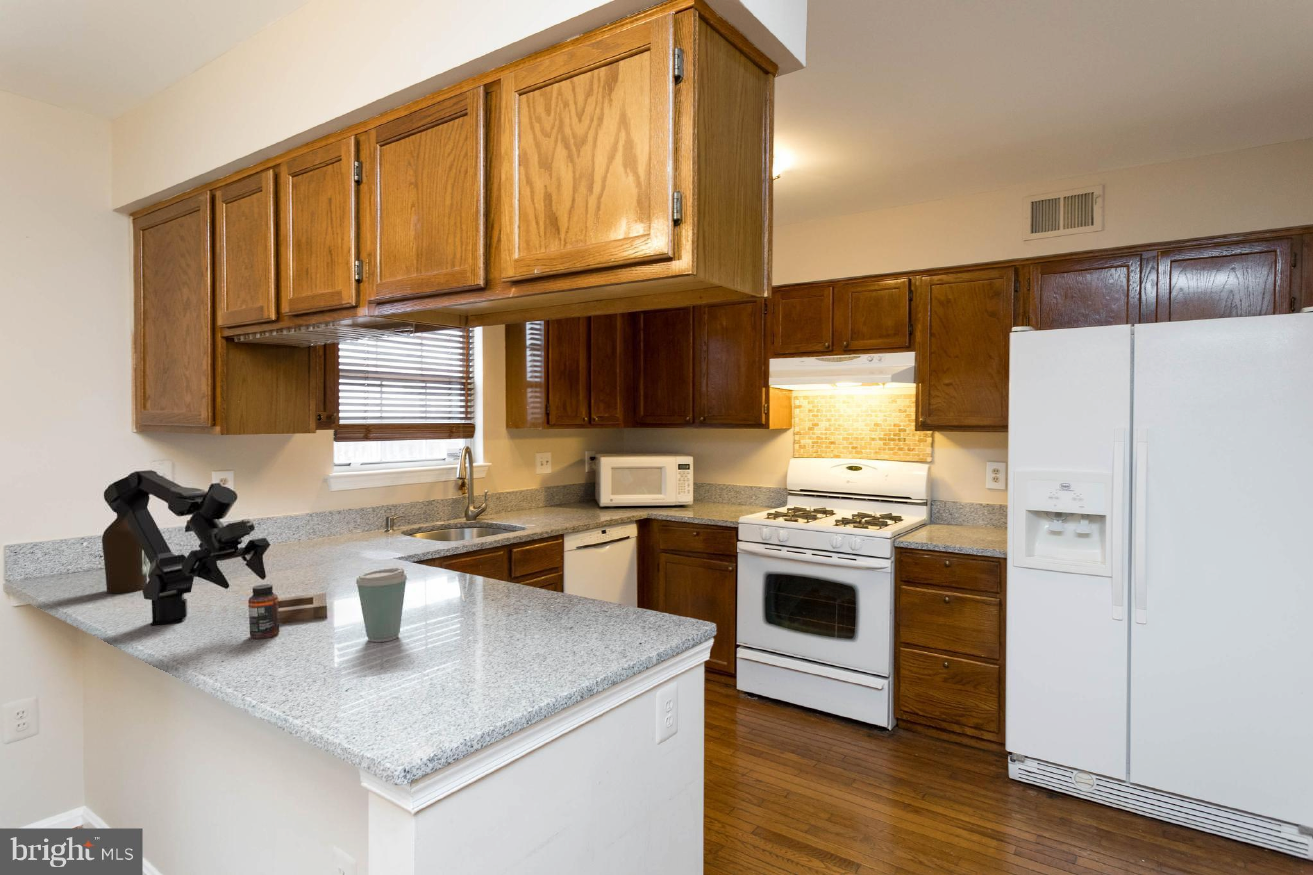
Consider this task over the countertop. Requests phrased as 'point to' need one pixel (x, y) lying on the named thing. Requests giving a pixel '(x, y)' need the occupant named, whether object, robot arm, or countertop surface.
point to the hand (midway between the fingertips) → (246, 582)
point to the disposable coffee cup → (382, 602)
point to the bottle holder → (302, 608)
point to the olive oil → (123, 558)
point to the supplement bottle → (263, 612)
